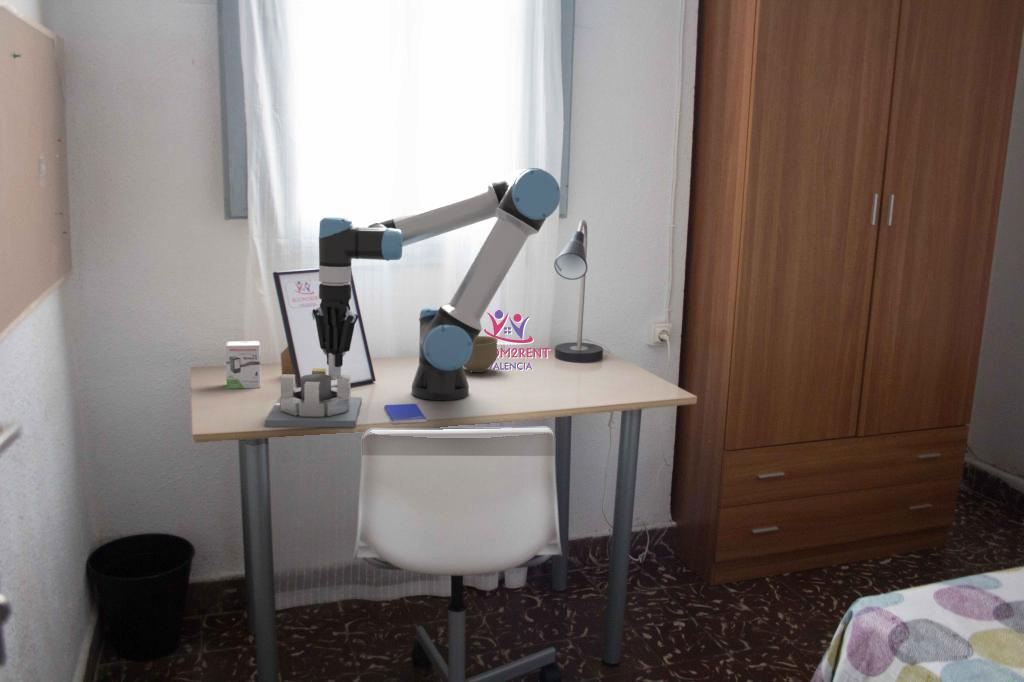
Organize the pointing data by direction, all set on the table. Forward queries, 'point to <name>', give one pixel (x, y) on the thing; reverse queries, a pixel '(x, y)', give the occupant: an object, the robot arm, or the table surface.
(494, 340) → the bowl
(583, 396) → the table surface
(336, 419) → the housing
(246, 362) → the ink box
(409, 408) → the hard drive
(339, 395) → the ring nut
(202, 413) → the table surface
